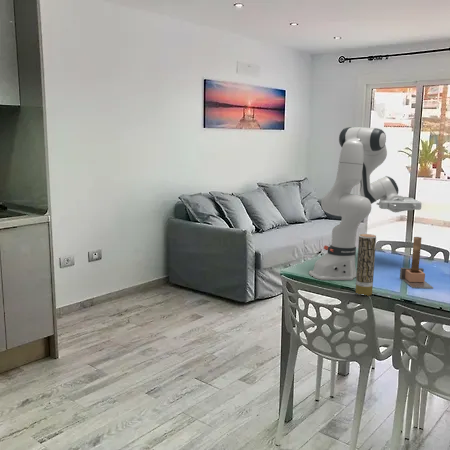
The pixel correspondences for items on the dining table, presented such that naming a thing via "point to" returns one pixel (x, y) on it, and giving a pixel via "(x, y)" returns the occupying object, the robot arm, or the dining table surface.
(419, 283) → the rail
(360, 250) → the bark textured cylinder
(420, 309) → the dining table surface
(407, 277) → the collar
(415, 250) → the dowel
